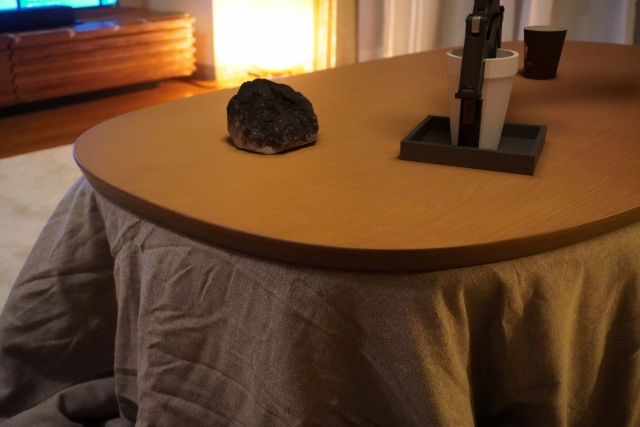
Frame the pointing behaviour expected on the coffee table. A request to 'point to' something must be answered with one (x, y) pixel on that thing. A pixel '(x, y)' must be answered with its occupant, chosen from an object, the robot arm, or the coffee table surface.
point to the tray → (511, 155)
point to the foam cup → (484, 94)
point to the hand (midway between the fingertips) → (475, 136)
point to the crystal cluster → (270, 117)
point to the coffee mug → (542, 51)
